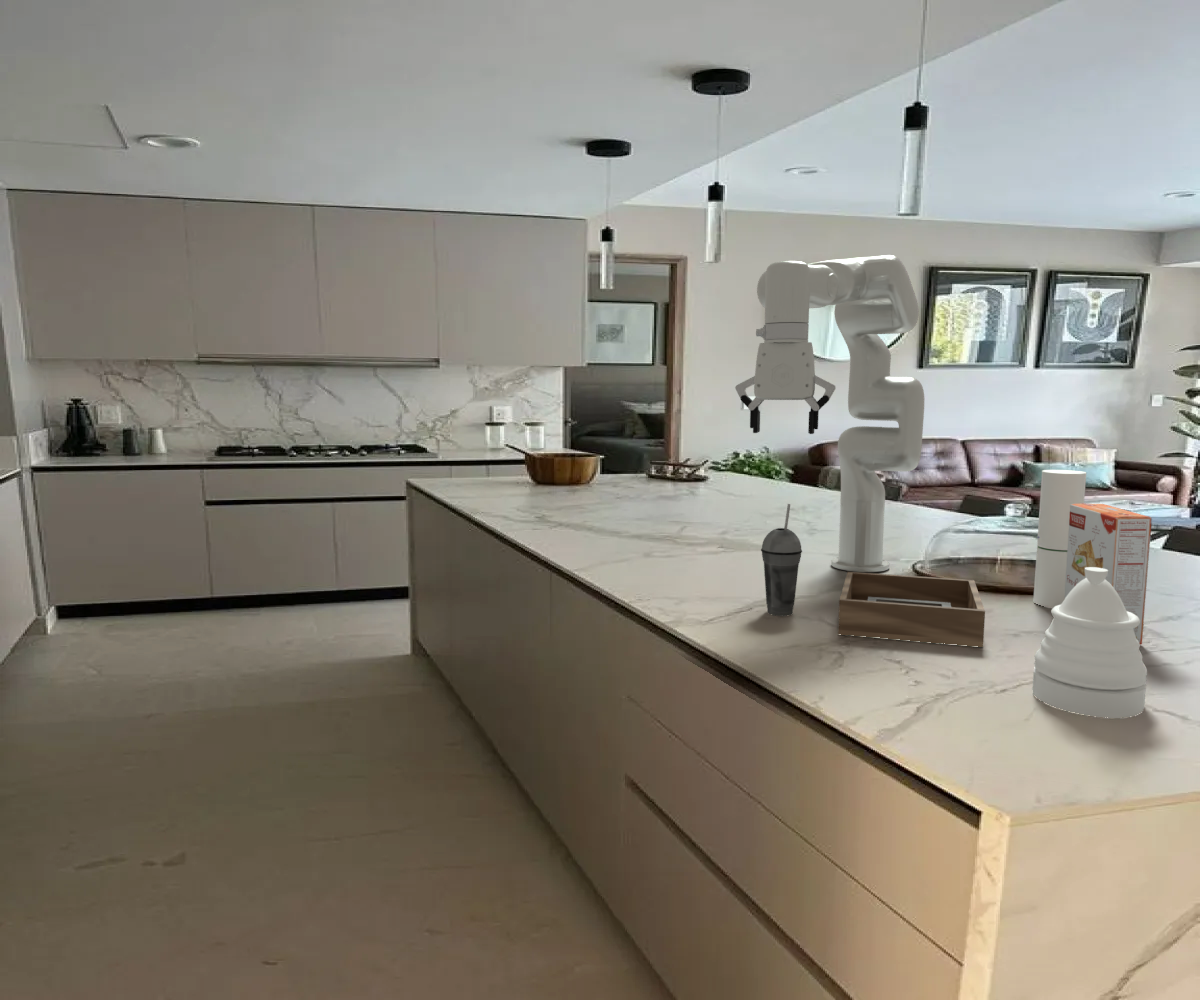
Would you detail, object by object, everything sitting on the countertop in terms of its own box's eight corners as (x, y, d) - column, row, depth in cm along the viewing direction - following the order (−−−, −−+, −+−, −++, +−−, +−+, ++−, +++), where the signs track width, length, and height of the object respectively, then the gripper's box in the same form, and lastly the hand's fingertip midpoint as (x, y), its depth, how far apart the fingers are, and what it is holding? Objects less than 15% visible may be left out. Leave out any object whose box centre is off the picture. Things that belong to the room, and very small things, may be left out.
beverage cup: (755, 607, 158) (757, 501, 155) (793, 606, 159) (796, 500, 156) (765, 618, 151) (768, 507, 148) (805, 617, 151) (809, 506, 149)
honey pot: (1144, 726, 103) (1157, 582, 101) (1027, 705, 110) (1036, 570, 108) (1143, 693, 114) (1155, 562, 112) (1036, 676, 121) (1045, 552, 118)
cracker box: (1059, 621, 148) (1068, 502, 145) (1095, 621, 148) (1104, 502, 145) (1104, 646, 134) (1114, 515, 132) (1143, 646, 134) (1154, 515, 131)
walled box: (846, 602, 161) (847, 571, 161) (972, 612, 154) (974, 580, 153) (838, 635, 141) (839, 600, 140) (982, 648, 134) (985, 611, 133)
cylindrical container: (1072, 600, 162) (1081, 470, 158) (1079, 610, 155) (1090, 474, 151) (1030, 598, 164) (1039, 469, 160) (1036, 607, 157) (1045, 473, 154)
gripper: (732, 334, 148) (731, 433, 150) (835, 332, 142) (832, 435, 144) (740, 337, 155) (738, 431, 157) (839, 335, 149) (835, 432, 151)
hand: (783, 433), depth 151 cm, fingers open, 9 cm apart
